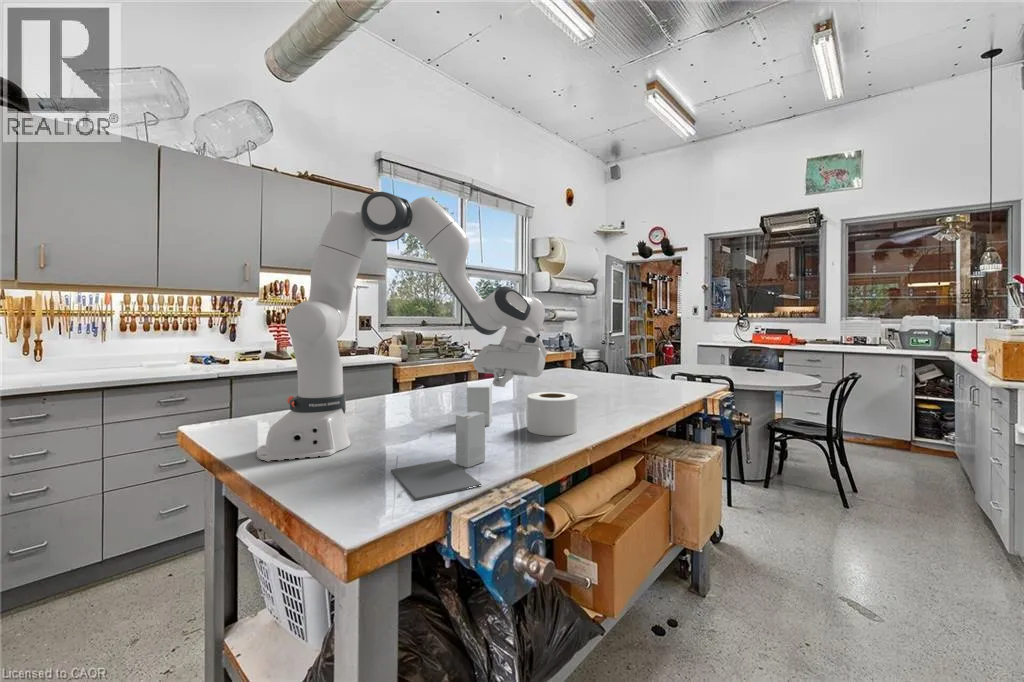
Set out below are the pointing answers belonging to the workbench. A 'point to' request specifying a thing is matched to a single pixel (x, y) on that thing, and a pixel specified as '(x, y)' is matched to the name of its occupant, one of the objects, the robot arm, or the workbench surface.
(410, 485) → the rubber mat
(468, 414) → the skincare box
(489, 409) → the supplement box
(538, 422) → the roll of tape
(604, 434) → the workbench surface
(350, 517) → the workbench surface
